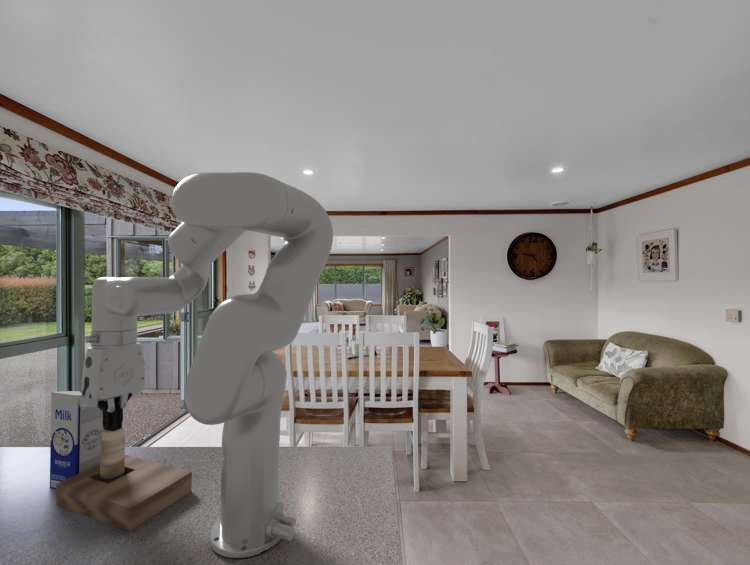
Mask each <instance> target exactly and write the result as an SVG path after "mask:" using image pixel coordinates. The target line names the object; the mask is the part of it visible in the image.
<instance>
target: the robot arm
mask: <svg viewBox="0 0 750 565" xmlns="http://www.w3.org/2000/svg"><path fill="white" fill-rule="evenodd" d="M170 203H171V204H170V205H171V210H172V212H173V214H174V216H175V217H176V219H177V220H179V222H181V223H180V224H179V225H178V226H177V227H176V228H175V229H174V230H173V231H172V232H171V233H170V234H169V236H168V239H167V245H168V248H169V250H170V252H171V254H172V255H173V256H174V258H176V260H177V261H178V262H180V264H182V265H181V266H180V267H179V268H178V269H177V270H176V271H175V272H174V273H173V274H172V275H170V276H169V277H165V276H161V277H160V276H127V277H124V276H123V277H122V276H121V277H119V276H118V277H117V276H102V277H98V278H96V279H94V280H93V283H92V291H91V292H92V296H91V331H90V334H89V335H86V336H85V337H84V342H85V343H86V344H90V346H88V347H87V349H86V353H85V357H84V360H83V367H82V374H81V388H80V390H82V396H83V397H84V401H83V406H84V407H98V408H99V409H100V410H102V411H103V428H104V429H105V430H109V431H116V430H117V429H121V428H122V425H123V423H124V422H123V421H124V409H125V408H126V407H127V404H128V402H129V401H130V399H131V397H134V396H135V395H137V394H139V393H140V392H141V390H142V389H143V388H144V387H145V383H146V370H145V357H144V352H143V348H142V347H143V346H142V344H141V342H137V341H138V317H143V316H144V317H145V316H150V315H151V316H152V315H161V314H163V315H164V314H173V313H177V312H178V311H180V310H183V309H184V308H186V307H187V306H188V305H189V304H191V303H192V302H193V301H194V300H195V299H196V298H197V297H198V296H200V295H201V294H202V292H203V291H204V290H205V288H206V286H207V283H208V280H209V277H210V273H211V272H210V270H211V269H210V266H211V265H212V264H213V263H214V262H215V261H216V260H217V259H218V258H219V257H220V256H221V255H222V254H223V253H224V252H226V250H228V249H229V248H230V246H232V245H233V244H234V243H235V242H236V241H237V240H238V239H239V238H241V236H242V235H243V234H245V232H254V233H259V234H263V235H270V236H274V237H280V238H282V239H283V240H284V243H283V245H282V247H280V249H279V250H278V251H277V252H276V253H275V254H274V256H273V257H272V258H271V260H270V262H269V263H268V266H267V268H266V270H265V274H264V277H263V279H262V281H261V284H260V286H259V288H258V290H257V291H256V292H254V293H250V294H249V293H247V294H239V295H234V296H231V297H229V298H227V299H225V300H224V301H222V302H221V303H220V304H219V305H217V306H216V308H215V309H214V310H213V311H212V313H211V314H210V316H209V318H208V320H207V322H206V325H205V327H204V330H203V333H202V334H201V337H200V340H199V343H198V346H197V348H196V352H195V355H194V356H193V360H192V362H191V365H190V368H189V372H188V374H187V377H186V380H185V385H184V386H185V387H184V401H185V406H186V409H187V411H188V413H189V415H190V417H192V419H193V420H194V421H197V422H198V423H200V424H204V425H207V426H209V425H210V426H215V425H222V424H223V427H222V432H221V434H222V435H221V453H220V454H221V455H220V456H221V457H220V460H221V461H220V462H221V463H220V468H221V469H220V502H219V505H220V506H219V509H220V513H219V515H220V516H219V518H218V519H217V520H216V521H215V522H214V524H213V525H212V527H211V528H210V531H209V545H210V547H211V548H212V550H213V551H214V552H215V553H217V554H218V555H220V556H222V557H226V558H229V559H244V558H249V557H250V556H251V557H254V555H255V556H257V554H258V555H260V553H261V552H263V551H265V550H267V551H269V550H270V549H272V548H273V547H275V546H276V545H277V544H278V543H279V542H280V541H281V540H285V541H288V542H291V541H293V540H292V539H293V538H294V536H295V531H296V529H295V525H296V523H297V519H296V518H295V517H293V516H287V515H286V514H285V512H284V508H285V507H284V505H285V504H284V503H283V502H279V483H280V481H279V480H280V479H279V478H280V441H281V440H280V438H281V417H282V416H281V415H282V408H283V402H284V396H285V392H286V384H287V372H286V367H285V364H284V361H283V360H282V358H281V357H280V356H279V355H278V354H277V353H276V352H274V351H278V350H280V349H283V348H285V347H287V346H289V345H290V344H292V343H293V342H294V341H295V339H296V337H297V336H298V333H299V331H300V328H301V326H302V323H303V321H304V319H305V316H306V313H307V311H308V309H309V307H310V303H311V301H312V299H313V296H314V294H315V290H316V289H317V285H318V283H319V281H320V278H321V275H322V273H323V271H324V269H325V267H326V264H327V262H328V260H329V257H330V254H331V252H332V248H333V241H334V230H333V225H332V221H331V218H330V216H329V214H328V212H327V210H325V208H324V207H323V206H322V205H321V204H320V202H319V201H317V199H315V198H314V197H312V196H311V195H310V194H308V193H306V192H305V191H303V190H301V189H299V188H297V187H295V186H292V185H289V184H287V183H285V182H283V181H281V180H278V179H276V178H275V177H272V176H270V175H266V174H265V173H264V174H263V173H259V172H250V171H249V172H247V171H244V172H242V171H240V172H239V171H237V172H232V171H231V172H199V173H193V174H190V175H188V176H186V177H184V178H182V180H181V181H180V182H179V183H177V185H176V186H175V188H174V190H173V192H172V195H171V201H170ZM95 399H96V400H95ZM275 544H276V545H275ZM271 547H272V548H271ZM269 548H270V549H269ZM268 549H269V550H268ZM265 552H266V551H265ZM263 553H264V552H263ZM261 554H262V553H261Z"/></svg>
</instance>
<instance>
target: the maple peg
mask: <svg viewBox="0 0 750 565" xmlns="http://www.w3.org/2000/svg"><path fill="white" fill-rule="evenodd" d="M125 451H126V426H125V425H124V424H122V428H121V429H117V430H116V431H109V430H105V429H102V430H101V451H100V481H101V482H104V483H107V484H108V483H110V482H112V481H114V480H116V479H118V478H120V477H122V476H124V474H125V455H126V452H125Z"/></svg>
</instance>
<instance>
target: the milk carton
mask: <svg viewBox="0 0 750 565" xmlns="http://www.w3.org/2000/svg"><path fill="white" fill-rule="evenodd" d="M50 395H51V396H50V403H51V404H50V448H49V449H50V451H49V456H50V457H49V489H53V490H56V484H57V483H59V482H62V481H64V480H66V479H68V478H71V477H73V476H75V475H77V474H80V473H82V472H84V471H86V470H89V469H91V468H93V467H96V466H98V465H100V451H101V430H102V429H104V428H103V411H102V410H100V409H99V408H98V407H84V406H83V401H84V397H83V396H82V390H81V389H80V390H79V391H76V390H75V391H74V390H71V391H70V390H60V391H51V392H50ZM95 400H96V399H95Z"/></svg>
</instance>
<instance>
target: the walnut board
mask: <svg viewBox="0 0 750 565" xmlns="http://www.w3.org/2000/svg"><path fill="white" fill-rule="evenodd" d="M192 476H193V472H192V471H189V470H186V469H181V468H178V467H174V466H171V465H166V464H162V463H159V462H155V461H152V460H148V459H144V458H139V457H136V456H132V455H129V454H125V474H124V476H122V477H120V478H118V479H116V480H114V481H112V482H110V483H108V484H107V483H104V482H101V481H100V465H98V466H96V467H93V468H91V469H89V470H86V471H84V472H82V473H80V474H77V475H75V476H73V477H71V478H68V479H66V480H64V481H62V482H59V483H57V484H56V489H55V505H56V506H59V507H61V508H64V509H67V510H68V511H69V510H70V511H73V512H75V513H77V514H81V515H83V516H86V517H88V518H91V519H94V520H97V521H99V522H100V521H101V522H102V523H105V524H108V525H111V526H114V527H116V528H119V529H121V530H124V531H128V532H131V531H133V530H135V529H136V528H138V527H140V526H141V525H143V523H144V524H145V522H147V521H149V520H150V519H152V518H153V517H155V516H156V515H157V514H159V513H161V512H162V511H165V509H167V508H168V507H170V506H171V505H173V504H174V503H176V502H177V501H179V500H181V499H182V498H184V497H185V496H186V495H188V494H190V493H192V487H193V486H192V484H193V482H192V479H193V478H192Z"/></svg>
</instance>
